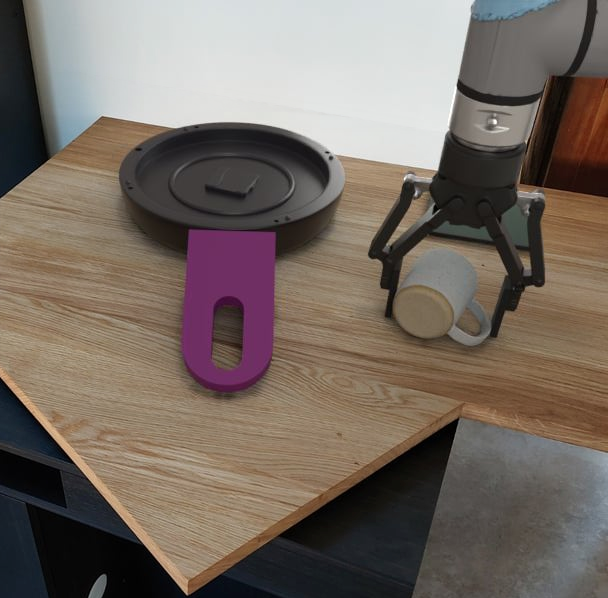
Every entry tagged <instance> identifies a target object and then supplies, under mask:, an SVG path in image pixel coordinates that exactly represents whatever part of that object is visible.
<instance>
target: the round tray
mask: <svg viewBox="0 0 608 598" xmlns="http://www.w3.org/2000/svg"><path fill="white" fill-rule="evenodd" d="M118 181H119V187H120V191H121V194H122V197H123V202H124V204H125V206H126V208H127V211H128V213H129V214H130V216H131V217H132V219H133V221H134V223H136V225H137V226H138V227H139V228H140V229H141V230H142V231H143V232H144V233H145V234H147V236H149V237H150V238H152V240H154V241H156V242H158V243H159V244H161V245H163V246H165V247H168V248H170V249H172V250H175V251H177V252H180V253H184V254H186V255H187V252H188V237H189V230H218V231H250V232H276V238H275V256H276V255H280V254H284V253H287V252H290V251H292V250H294V249H298V248H299V247H301V246H303V245H305V244H306V243H308V242H310V241H311V240H313V239H314V238H315V237H316V236H318V235H319V234H320V233H322V231H324V229H325V228H326V227H327V226H328V225H329V223H330V222H331V220H332V219H333V217H334V216H335V214H336V212H337V209H338V207H339V205H340V203H341V199H342V196H343V193H344V190H345V185H346V173H345V169H344V167H343V164H342V163H341V161H340V159H339V158H338V157H337V155H335V154H334V153H333V152H332V151H331V150H330V149H329V148H328V147H326V146H325V145H323V144H322V143H320V142H319V141H317V140H315V139H313V138H311V137H309V136H306V135H304V134H301V133H299V132H296V131H293V130H290V129H286V128H283V127H277V126H273V125H268V124H261V123H252V122H240V121H239V122H237V121H219V122H218V121H217V122H205V123H196V124H190V125H185V126H180V127H177V128H173V129H169V130H166V131H163V132H161V133H157V134H155V135H153V136H150V137H149V138H147V139H145V140H143V141H142V142H140V143H139V144H137V145H136V146H134V147H133V148H132V149H131V150H130V151H129V152H128V153H127V154H126V155H125V156H124V157H123V160H122V162H121V164H120V166H119V170H118Z"/></svg>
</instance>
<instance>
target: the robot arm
mask: <svg viewBox="0 0 608 598" xmlns="http://www.w3.org/2000/svg"><path fill="white" fill-rule="evenodd" d="M469 12H470V17H469V21H468V26H467V32H466V37H465V42H464V45H463V46H464V47H463V50H462V57H461V61H460V65H459V70H458V71H459V72H458V76H457V81H456V84H455V87H454V92H453V97H452V101H451V106H450V111H449V116H448V120H447V121H448V122H447V127H448V129H449V130H447V131H446V133H445V135H444V138H443V139H444V140H443V144H442V149H441V152H440V153H441V154H440V158H439V161H438V162H439V163H438V168H437V171H436V173H435V174H434V175H433V176H432V177H424V176H418V175H417V172H415V171H414V170H409V171H407V172H406V173H405V175H404V178H403V182H402V185H401V190H400V194H399V196H398V197H397V199H396V200H395V202H394V204H393V205H392V207H391V208H390V210H389V212H388V213H387V215H386V216H385V219H384V220H383V222H382V223H381V225H380V226H379V228H378V230H377V231H376V233H375V235H374V236H373V238H372V240H371V241H370V245H369V248H368V252H367V257H368V258H369V259H370V260H377V261H379V262H381V264H382V268H381V269H382V270H381V275H380V281H379V287H380V289H381V290H388V295H387V301H386V305H385V311H384V316H383V318H384V319H390V320H391V319H392V315H393V300H394V297H395V294H396V292H397V290H398V288H399V287H398V286H399V282H400V277H401V271H402V266H403V262H404V261H403V260H404V257H405V256H406V255H408V253H409V252H411V251H412V250H413V249H414V248H415V247H416V246H418V245H419V244H420V242H422V241H423V240H425V238H426V237H428V236H429V235H428V234H430V233H431V232H432V231H433V230H434V229H435V230H436V229H437V228H438V227H440V226H441V225H442V224H443V223H444V222H445V221H448V222H449V224H450V225H456V226H458V225H466V226H469V227H471V228H475V229H480V228H481V227H486V229H487V231H488V234H489V236H490V238H492V240H493V242H494V244H495V246H494V247H495V248H496V251H497V253H498V255H499V258H500V260H501V262H502V265H503V266H504V269H505V271H506V273H507V274H504V277H503V281H502V284H501V287H500V290H499V293H498V298H497V301H496V304H495V307H494V310H493V315H492V317H491V319H490V320H491V324H492V329H491V332H490V334H489V338H493V339H498V335H499V333H500V329H501V325H502V322H503V319H504V316H505V313H506V312H511V313H514V312H515V311H516V310H517V309H518V306H519V303H520V300H521V297H522V294H523V293H524V292H525V290H526V288H527V287H531V286H533V287H535V288H543V287H544V286H545V284H546V264H545V253H544V252H545V251H544V241H543V230H542V218H543V215H544V213H545V209H546V192H545V191H544V190H543V189H540V188H539V189H536V190H534V191H533V192H528V191H522V190H521V191H519V190H518V187H517V182H518V180H519V176H520V172H521V168H522V164H523V162H524V158H525V155H526V151H527V147H528V146H527V142H526V141H528V140H529V139H530V137H531V133H532V130H533V126H534V122H535V118H536V115H537V112H538V108H539V104H540V101H541V98H542V96H543V93H544V89H545V84H546V82H547V80H548V78H549V77H550V76H551V77H552V76H555V77H556V76H558V77H568V78H569V77H575V78H591V79H606V80H607V79H608V0H473V2H472V4H471V5H470V11H469ZM427 192H429V195H430V197H432V198H433V200H434V202H435V203H434V204H433V205H432V206H431V207H430V208H429V210H428V209H427V211H426V212H425V213H424V214H422V216H420V217H419V218H418V219H417V220H416V221H415V222H414V223H413V224H412V225H411V226H410V227H408V228H407V229H406V230H405V231H404V232H403V233H402V234H401V235H400V236H399V237H397V238H396V240H394V241H393V243H391V244H390V243H389V241H390V240H391V238H392V236H393V235H394V233H395V231H396V230H397V228H398V227H399V226H400V224H401V223H402V220H403V219H404V217H405V216H406V214H407V212H408V211H409V209H410V207H411V205H412V202H413V201H416V200H418V199H420V198H421V197H422V195H423V194H424V193H427ZM515 204H516V205H518V206H519V207H520V209H521V214H522V215H523V216H525V217H527V233H528V243H529V251H528V253H529V262H530V263H529V264H530V268H525V266H524V264H523V262H522V259H521V257H520V255H519V252H518V249H516V248H515V245H514V243H513V241H512V238H511V236H510V234H509V231H508V229H507V227H506V224H505V221H504V217H503V214H504V213H505V212H506V211H508V210H509V209H510V208H512V207H513V206H514V205H515ZM387 244H388V245H387Z"/></svg>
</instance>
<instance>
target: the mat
mask: <svg viewBox="0 0 608 598" xmlns="http://www.w3.org/2000/svg"><path fill="white" fill-rule="evenodd" d="M434 203H435V202H434V200H433V198H432V197H431V196H430V198H429V202H428V207H427V211H428V210H429V208H430V207H431V206H432V205H433V204H434ZM503 217H504V221H505V224H506V227H507V229H508V231H509V234H510V236H511V238H512V241H513V243H514V245H515V248H516V250H517V251H526V252H529V243H528V233H527V217H525V216H523V215H522V214H521V209H520V207H519V206H518V205H516V204H515V205H514V206H513V207H512V208H510V209H509V210H508V211H506V212H505V213H504V214H503ZM427 236H431V237H438V238H444V239H450V240H457V241H463V242H468V243H469V242H470V243H474V244H482V245H487V246H493V247H496V246H495V244H494V242H493V240H492V238H490V236H489V234H488V231H487V229H486V227H481V228H480V229H475V228H471V227H469V226H466V225H458V226H456V225H450V224H449V222H448V221H445V222H444V223H443V224H442V225H441V226H440V227H438V228H437V229H436V230H435V229H434V230H433V231H432V232H431V233H430V234H428V235H427Z"/></svg>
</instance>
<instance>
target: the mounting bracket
mask: <svg viewBox="0 0 608 598" xmlns="http://www.w3.org/2000/svg"><path fill="white" fill-rule="evenodd" d="M275 238H276V232H250V231H218V230H189V237H188V252H187V254H186V268H185V281H184V296H183V311H182V325H181V340H180V341H181V342H180V343H181V345H180V346H181V347H180V348H181V353H182V359H183V363H184V366H185V368H186V370H187V372H188V373H189V375H190V376H191V377H192V379H193V380H194V381H195V382H197V383H198V384H199V385H200V386H202V387H204V388H206V389H208V390H210V391H213V392H217V393H237V392H241V391H243V390H246V389H248V388H251V387H253V386H254V385H255V384H257V383H258V382H259V381H260V380H261V379H262V378H263V377H264V376H265V375H266V373H267V371H268V370H269V368H270V366H271V363H272V358H273V351H274V336H275V335H274V334H275V329H274V327H275V321H274V320H275V288H276V287H275V285H276V284H275V283H276V281H275V278H276V255H275ZM225 306H226V307H227V306H233V307H236V308H238V310H240V312H241V313H242V315H243V327H242V329H243V330H242V355H241V356H242V357H241V361H240V363H239V364H238V365H237V366H236V367H233V368H232V369H221V368H219V367H217V365H215V364H214V362H213V360H212V359H213V343H214V341H213V340H214V339H213V338H214V323H215V321H214V320H215V315H216V312H217V311H218V310H219V309H220V308H223V307H225Z"/></svg>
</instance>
